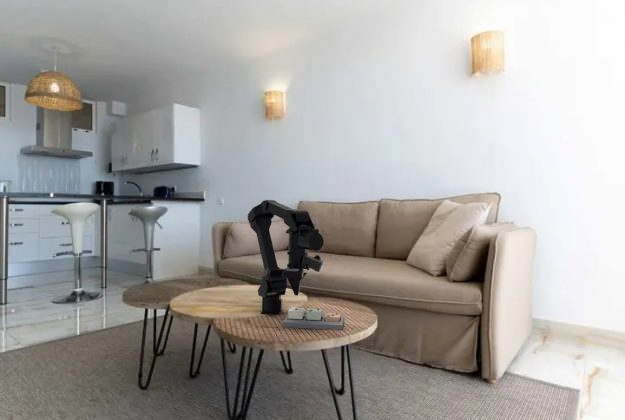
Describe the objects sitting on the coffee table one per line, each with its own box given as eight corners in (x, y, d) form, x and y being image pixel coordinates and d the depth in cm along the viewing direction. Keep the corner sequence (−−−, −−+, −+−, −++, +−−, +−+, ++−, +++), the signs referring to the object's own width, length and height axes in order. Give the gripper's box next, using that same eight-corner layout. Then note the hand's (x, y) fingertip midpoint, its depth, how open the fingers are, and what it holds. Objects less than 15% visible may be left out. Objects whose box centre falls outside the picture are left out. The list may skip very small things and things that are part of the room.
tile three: (325, 324, 127) (325, 316, 127) (326, 320, 132) (326, 312, 132) (339, 325, 127) (339, 316, 127) (339, 321, 131) (340, 313, 131)
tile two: (306, 319, 128) (306, 311, 128) (308, 315, 132) (308, 307, 132) (320, 320, 127) (320, 311, 127) (321, 316, 132) (322, 308, 132)
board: (282, 326, 125) (282, 322, 125) (289, 316, 137) (289, 312, 137) (342, 330, 123) (342, 325, 123) (344, 319, 135) (344, 315, 135)
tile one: (288, 318, 129) (288, 310, 129) (290, 314, 133) (291, 306, 133) (302, 319, 128) (302, 310, 128) (304, 315, 133) (304, 307, 133)
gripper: (318, 252, 120) (317, 303, 120) (324, 246, 139) (323, 290, 139) (282, 250, 122) (281, 301, 122) (293, 245, 140) (292, 289, 140)
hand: (296, 295), depth 131 cm, fingers closed
